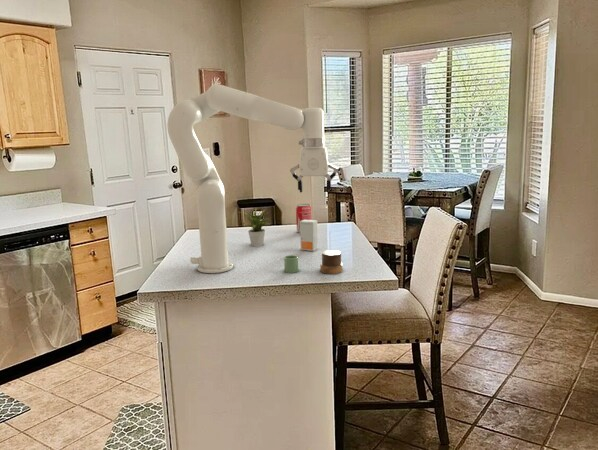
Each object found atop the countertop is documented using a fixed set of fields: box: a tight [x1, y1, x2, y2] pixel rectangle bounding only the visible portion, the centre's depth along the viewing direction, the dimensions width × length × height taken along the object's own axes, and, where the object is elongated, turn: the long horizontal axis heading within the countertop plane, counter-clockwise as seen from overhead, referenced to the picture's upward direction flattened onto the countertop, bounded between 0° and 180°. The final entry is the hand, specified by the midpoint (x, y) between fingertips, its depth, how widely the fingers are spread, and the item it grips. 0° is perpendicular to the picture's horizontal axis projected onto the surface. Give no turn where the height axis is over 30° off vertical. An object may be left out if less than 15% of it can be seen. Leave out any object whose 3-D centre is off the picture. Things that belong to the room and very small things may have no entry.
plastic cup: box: [283, 254, 299, 274], centre depth 178 cm, size 5×5×5 cm
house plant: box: [239, 206, 271, 247], centre depth 216 cm, size 14×14×16 cm
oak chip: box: [319, 262, 343, 275], centre depth 177 cm, size 8×8×2 cm
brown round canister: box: [321, 249, 342, 267], centre depth 177 cm, size 7×7×4 cm
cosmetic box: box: [299, 219, 319, 252], centre depth 207 cm, size 6×4×12 cm
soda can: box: [295, 203, 312, 234], centre depth 240 cm, size 7×7×13 cm
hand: (314, 191), depth 184 cm, fingers open, 9 cm apart
